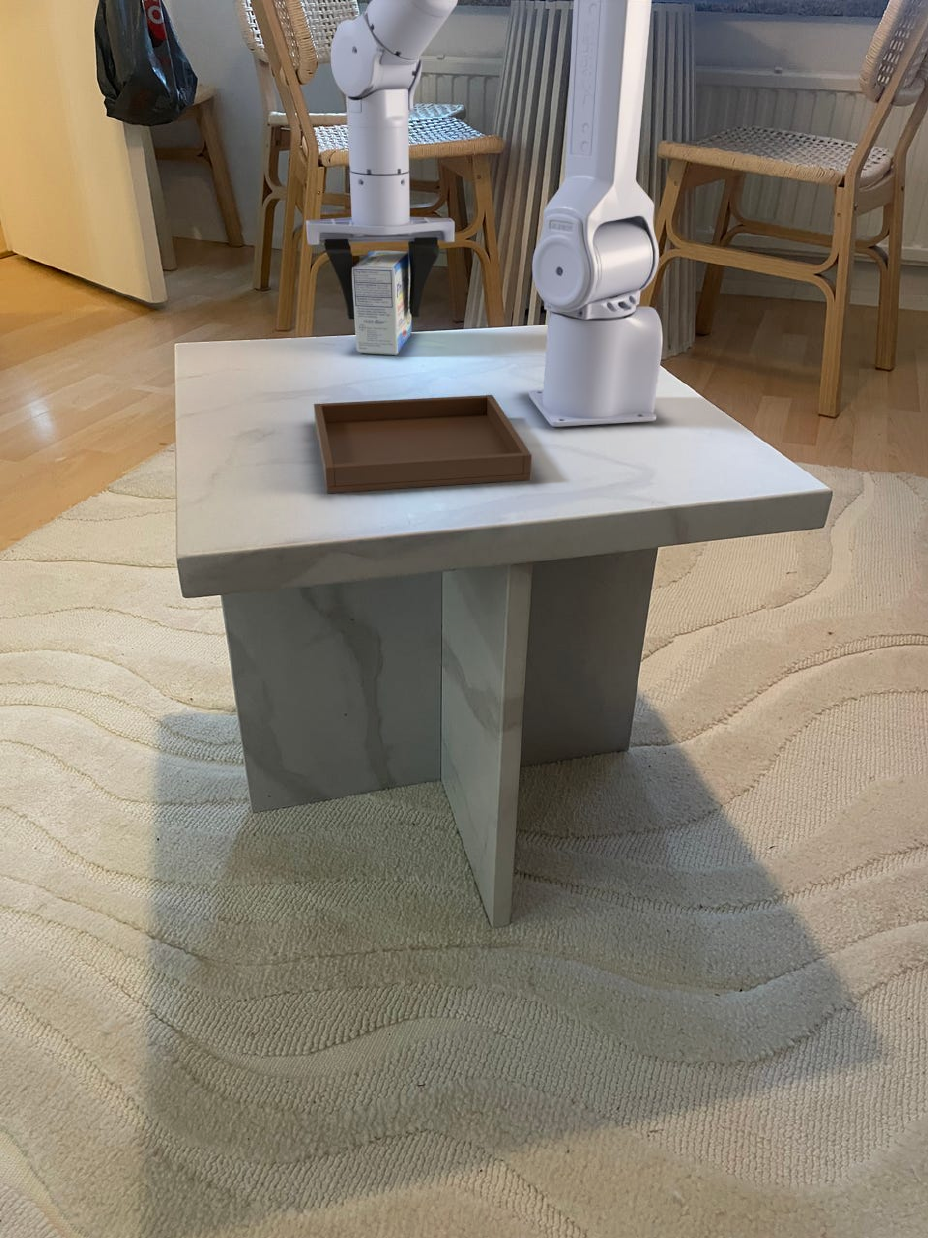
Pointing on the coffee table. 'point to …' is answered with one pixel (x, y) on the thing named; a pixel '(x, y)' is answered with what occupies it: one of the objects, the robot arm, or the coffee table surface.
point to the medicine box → (381, 302)
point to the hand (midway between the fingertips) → (383, 315)
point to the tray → (418, 443)
